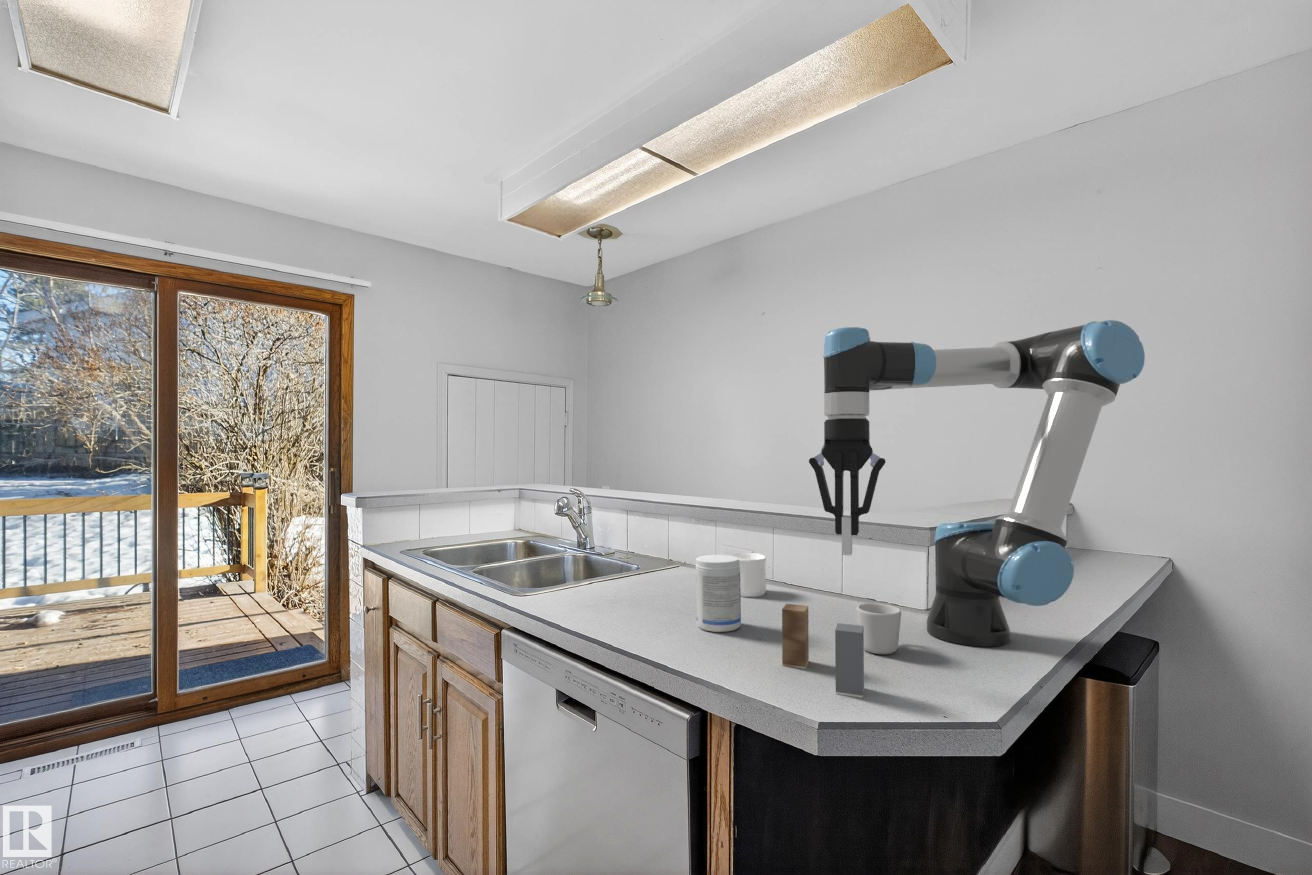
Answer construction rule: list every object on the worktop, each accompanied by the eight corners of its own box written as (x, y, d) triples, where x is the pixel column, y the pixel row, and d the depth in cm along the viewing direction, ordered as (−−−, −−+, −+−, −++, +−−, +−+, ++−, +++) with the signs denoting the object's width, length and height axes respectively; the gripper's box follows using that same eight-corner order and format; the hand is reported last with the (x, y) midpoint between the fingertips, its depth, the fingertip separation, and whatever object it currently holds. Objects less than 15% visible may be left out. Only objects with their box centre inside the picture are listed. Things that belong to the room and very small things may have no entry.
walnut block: (808, 661, 110) (808, 605, 110) (805, 668, 107) (805, 611, 107) (786, 658, 112) (786, 603, 112) (782, 665, 108) (782, 609, 108)
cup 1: (731, 597, 156) (731, 559, 156) (728, 588, 166) (727, 552, 166) (768, 598, 155) (768, 559, 155) (763, 588, 165) (763, 552, 165)
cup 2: (871, 637, 124) (870, 597, 124) (911, 645, 119) (911, 604, 119) (850, 651, 115) (850, 609, 115) (893, 661, 110) (893, 616, 110)
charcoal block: (863, 687, 98) (863, 625, 98) (862, 697, 95) (862, 632, 95) (838, 684, 100) (837, 622, 100) (835, 693, 96) (835, 630, 96)
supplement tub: (750, 628, 130) (749, 559, 130) (715, 636, 125) (715, 564, 125) (721, 617, 138) (720, 552, 138) (687, 624, 133) (686, 556, 133)
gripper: (887, 418, 107) (887, 552, 107) (811, 419, 112) (811, 547, 112) (886, 416, 100) (886, 560, 100) (805, 417, 105) (805, 554, 105)
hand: (847, 553), depth 106 cm, fingers closed
